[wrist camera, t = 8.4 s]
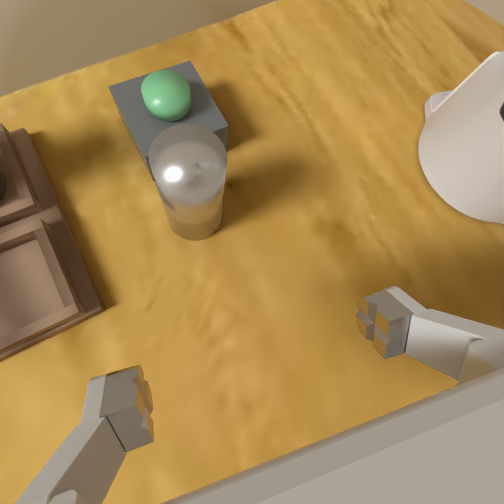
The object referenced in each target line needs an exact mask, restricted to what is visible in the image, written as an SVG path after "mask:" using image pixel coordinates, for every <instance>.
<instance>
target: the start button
mask: <svg viewBox="0 0 504 504" xmlns="http://www.w3.org/2000/svg"><path fill="white" fill-rule="evenodd" d="M141 92H142V96H143V99H144V103H145V106H146V109H147V111H148V112H149V113H150V114H151V115H152V116H153V117H155V118H157V119H159V120H163V121H175V120H178V119H180V118H182V117H184V116H185V115H186V114H187V113H188V112H189V110H190V107H191V95H190V86H189V84H188V82H187V80H186V79H185V78H184V77H183V76H182V75H180V74H179V73H177V72H174V71H170V70H160V71H156V72H153V73H151V74H149V75H148V76H147V77H146V78H145V79H144V81H143V83H142V86H141Z"/></svg>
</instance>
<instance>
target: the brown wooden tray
mask: <svg viewBox="0 0 504 504" xmlns="http://www.w3.org/2000/svg"><path fill="white" fill-rule="evenodd" d="M0 172H1V173H2V174H3V175H4V177H5V180H6V184H7V188H6V193H5V195H4V197H3V199H2V201H1V202H0V361H2V360H4V359H6V358H8V357H10V356H12V355H14V354H16V353H18V352H20V351H23V350H25V349H27V348H29V347H31V346H33V345H35V344H37V343H39V342H41V341H43V340H45V339H47V338H49V337H51V336H54V335H56V334H58V333H60V332H62V331H64V330H66V329H68V328H70V327H72V326H74V325H76V324H78V323H80V322H82V321H84V320H87V319H89V318H91V317H93V316H95V315H97V314H99V313H101V312H103V311H105V308H104V306H103V304H102V301H101V299H100V297H99V294H98V292H97V290H96V287H95V285H94V283H93V280H92V278H91V276H90V273H89V271H88V269H87V266H86V264H85V262H84V260H83V257H82V255H81V253H80V250H79V248H78V246H77V243H76V241H75V239H74V236H73V234H72V232H71V229H70V227H69V225H68V222H67V220H66V218H65V216H64V213H63V211H62V209H61V206H60V204H59V202H58V199H57V197H56V195H55V192H54V190H53V188H52V185H51V183H50V181H49V178H48V176H47V174H46V171H45V169H44V167H43V165H42V162H41V160H40V158H39V155H38V153H37V151H36V148H35V146H34V144H33V141H32V139H31V137H30V134H29V133H28V132H27V131H26V130H25V129H24V128H21V129H18V130H15V131H12V132H9V131H8V130H7V129H6V128H5V127H4V126H3V125H2V124H0Z"/></svg>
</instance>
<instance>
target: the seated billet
mask: <svg viewBox="0 0 504 504" xmlns="http://www.w3.org/2000/svg"><path fill="white" fill-rule="evenodd" d="M6 188H7V184H6V180H5V177H4V175H3V174H2V173H1V172H0V202H1V201H2V199H3V197H4V195H5V193H6Z"/></svg>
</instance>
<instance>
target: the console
mask: <svg viewBox="0 0 504 504" xmlns="http://www.w3.org/2000/svg"><path fill="white" fill-rule="evenodd" d="M162 70H170V71H174V72H177V73H179V74H180V75H182V76H183V77H184V78H185V79H186V80H187V82H188V84H189V86H190V95H191V107H190V110H189V112H188V113H187V114H186V115H185V116H184V117H182V118H180V119H178V120H175V121H163V120H159V119H157V118H155V117H153V116H152V115H151V114H150V113H149V112H148V111H147V109H146V106H145V103H144V99H143V96H142V92H141V86H142V83H143V81H144V79H145V78H146V77H147V76H148V75H149V74H147V75H143V76H140V77H137V78H134V79H131V80H128V81H124V82H121V83H118V84H115V85H112V86H109V89H110V91H111V94H112V96H113V99H114V101H115V104H116V106H117V109H118V111H119V114H120V116H121V118H122V120H123V122H124V124H125V126H126V128H127V130H128V132H129V134H130V136H131V138H132V140H133V142H134V144H135V146H136V148H137V150H138V151H139V153H140V155H141V157H142V159H143V161H144V163H145V165H146V167H147V169H148V171H149V173H150V175H151V177H152V179H153V181H155V179H154V176H153V174H152V171H151V168H150V164H149V150H150V147H151V144H152V142H153V141H154V139H155V138H156V137H157V136H158V135H159V134H160V133H161V132H162V131H164V130H166V129H167V128H169V127H172V126H175V125H180V124H194V125H198V126H202V127H204V128H206V129H208V130H210V131H212V132H213V133H214V134H215V135H217V136H218V138H219V139H220V140H221V141H222V143H223V145H224V147H225V150H226V152H227V146H228V132H229V125H228V123H227V122H226V120H225V118H224V117H223V115H222V113H221V112H220V110H219V108H218V107H217V105H216V103H215V101H214V100H213V98H212V96H211V95H210V93H209V91H208V90H207V88H206V86H205V85H204V83H203V81H202V80H201V78H200V76H199V75H198V73H197V71H196V70H195V68H194V66H193V65H192V63H191V61H188V62H185V63H181V64H178V65H175V66H172V67H169V68H166V69H162ZM159 71H160V70H159ZM150 74H151V73H150Z"/></svg>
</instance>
